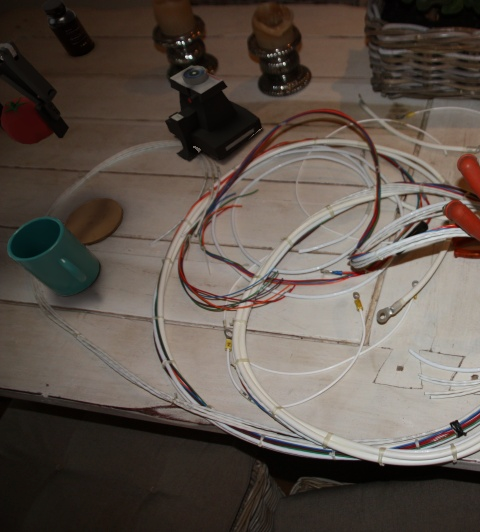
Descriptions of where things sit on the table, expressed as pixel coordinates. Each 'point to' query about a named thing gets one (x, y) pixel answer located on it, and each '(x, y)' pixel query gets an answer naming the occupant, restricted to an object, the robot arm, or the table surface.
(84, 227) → the coaster
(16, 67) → the robot arm
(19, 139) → the tomato
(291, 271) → the table surface
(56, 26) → the supplement bottle
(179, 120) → the camera
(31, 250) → the cup
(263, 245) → the table surface
